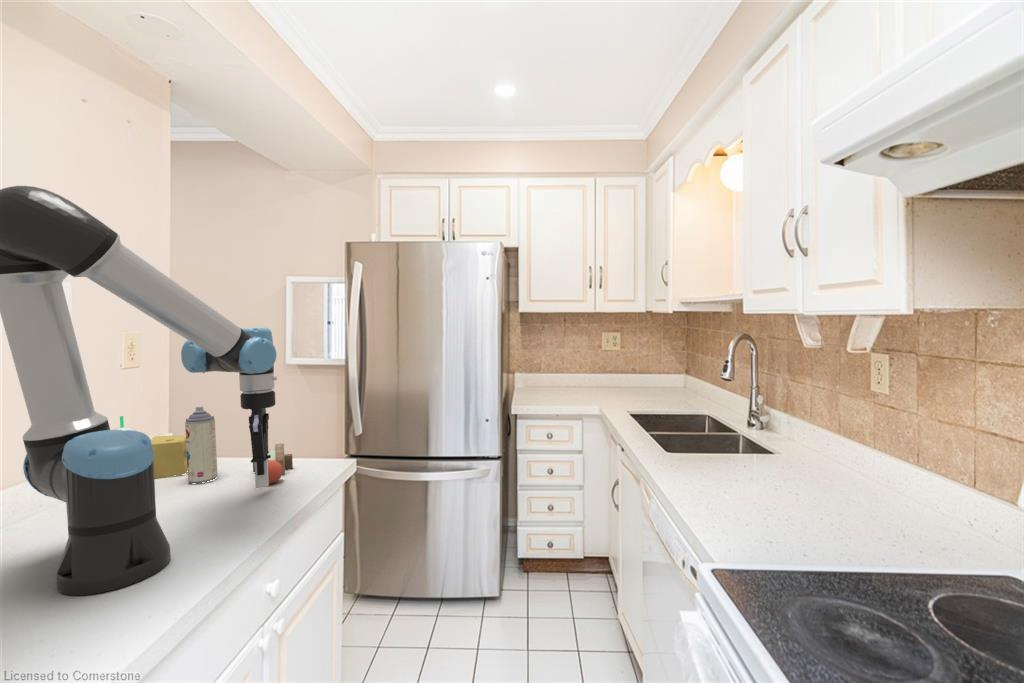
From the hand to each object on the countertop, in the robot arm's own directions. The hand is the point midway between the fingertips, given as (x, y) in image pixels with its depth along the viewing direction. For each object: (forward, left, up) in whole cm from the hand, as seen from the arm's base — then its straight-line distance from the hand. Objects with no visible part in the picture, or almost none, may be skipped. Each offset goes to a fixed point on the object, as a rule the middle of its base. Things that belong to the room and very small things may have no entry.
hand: (262, 486), depth 121 cm
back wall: (+21, 0, -2) cm, 21 cm away
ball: (+9, -1, +1) cm, 9 cm away
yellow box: (+31, +28, -2) cm, 42 cm away
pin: (+15, -2, -2) cm, 16 cm away
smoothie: (+12, +32, -2) cm, 34 cm away
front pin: (+12, 0, -1) cm, 13 cm away
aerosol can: (+19, +17, -2) cm, 26 cm away
